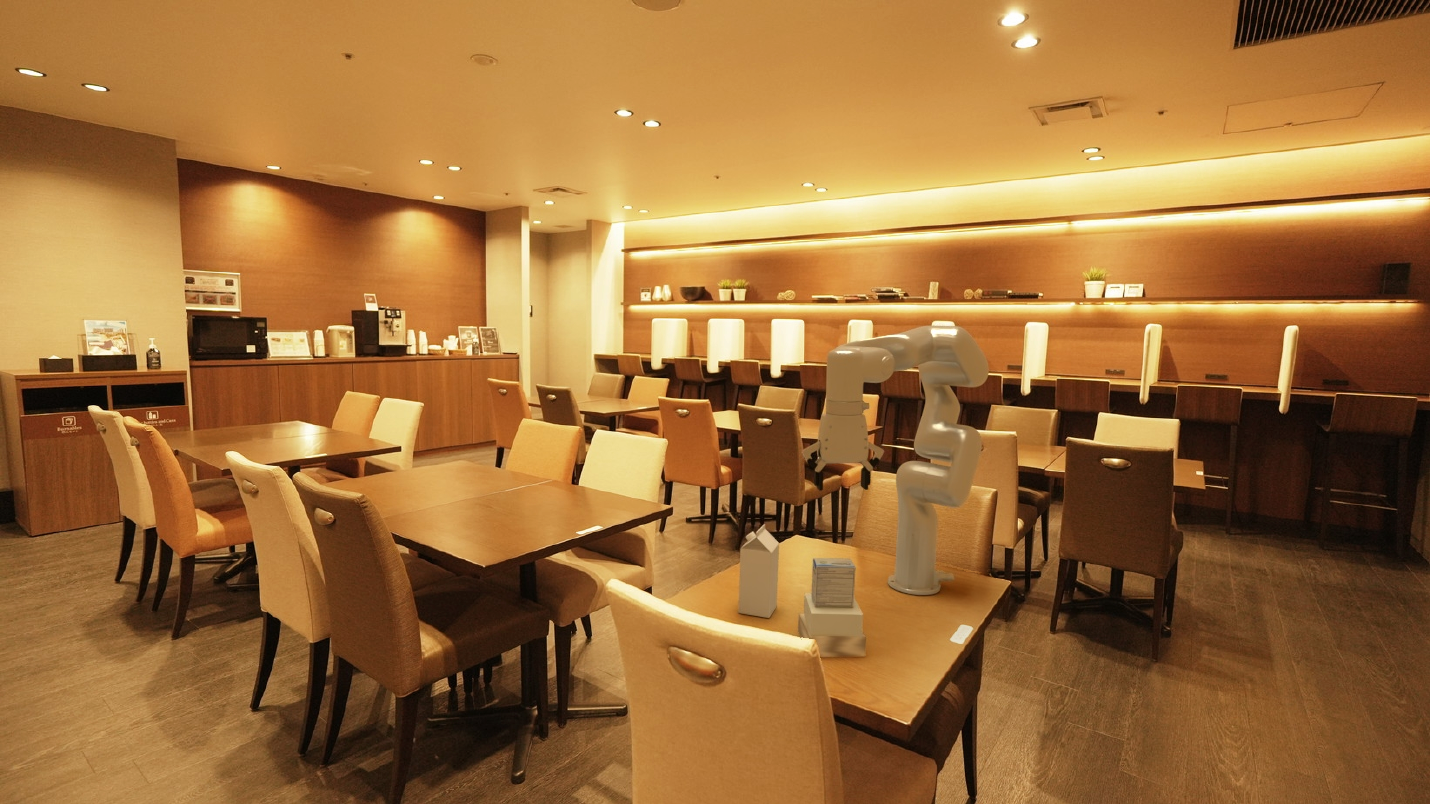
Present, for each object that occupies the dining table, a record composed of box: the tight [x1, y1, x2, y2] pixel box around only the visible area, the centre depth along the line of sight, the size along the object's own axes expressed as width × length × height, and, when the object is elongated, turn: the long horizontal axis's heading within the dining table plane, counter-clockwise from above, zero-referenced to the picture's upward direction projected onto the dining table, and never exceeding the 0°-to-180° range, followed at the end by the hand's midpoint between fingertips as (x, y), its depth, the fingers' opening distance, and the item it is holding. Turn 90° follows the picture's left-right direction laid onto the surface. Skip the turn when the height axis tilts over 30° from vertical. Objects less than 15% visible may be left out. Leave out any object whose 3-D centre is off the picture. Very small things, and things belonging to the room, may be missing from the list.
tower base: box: [797, 612, 867, 658], centre depth 135 cm, size 11×11×4 cm
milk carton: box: [737, 523, 780, 619], centre depth 150 cm, size 7×7×19 cm
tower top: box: [803, 592, 864, 637], centre depth 135 cm, size 10×10×4 cm
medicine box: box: [810, 557, 857, 607], centre depth 134 cm, size 8×4×9 cm, turn 91°
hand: (842, 488), depth 141 cm, fingers open, 9 cm apart
